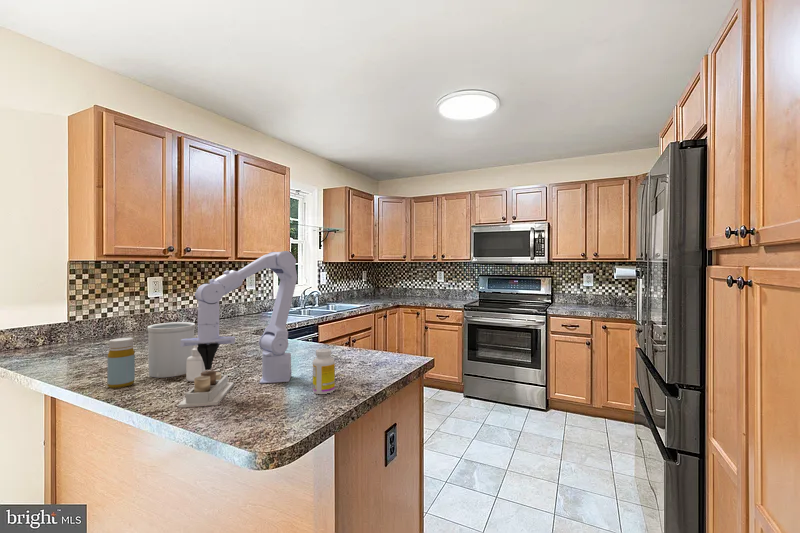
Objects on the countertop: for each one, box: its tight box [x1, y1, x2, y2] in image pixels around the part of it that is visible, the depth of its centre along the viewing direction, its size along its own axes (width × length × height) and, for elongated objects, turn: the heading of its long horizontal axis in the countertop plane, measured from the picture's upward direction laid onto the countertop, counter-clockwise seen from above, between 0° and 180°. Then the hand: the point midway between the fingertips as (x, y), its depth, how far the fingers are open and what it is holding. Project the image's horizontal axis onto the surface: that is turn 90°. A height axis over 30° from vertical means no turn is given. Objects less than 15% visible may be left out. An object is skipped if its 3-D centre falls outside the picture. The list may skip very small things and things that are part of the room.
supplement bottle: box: [312, 348, 336, 395], centre depth 111 cm, size 7×7×13 cm
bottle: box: [106, 337, 136, 389], centre depth 118 cm, size 7×7×15 cm
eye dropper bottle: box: [185, 345, 206, 382], centre depth 123 cm, size 4×6×12 cm
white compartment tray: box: [177, 374, 235, 409], centre depth 109 cm, size 10×18×4 cm, turn 12°
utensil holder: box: [147, 321, 196, 378], centre depth 133 cm, size 15×15×18 cm
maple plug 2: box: [216, 371, 222, 380], centre depth 114 cm, size 4×4×4 cm
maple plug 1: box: [193, 376, 210, 393], centre depth 103 cm, size 4×4×4 cm
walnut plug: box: [201, 369, 217, 386], centre depth 109 cm, size 4×4×4 cm
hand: (208, 368), depth 109 cm, fingers closed
